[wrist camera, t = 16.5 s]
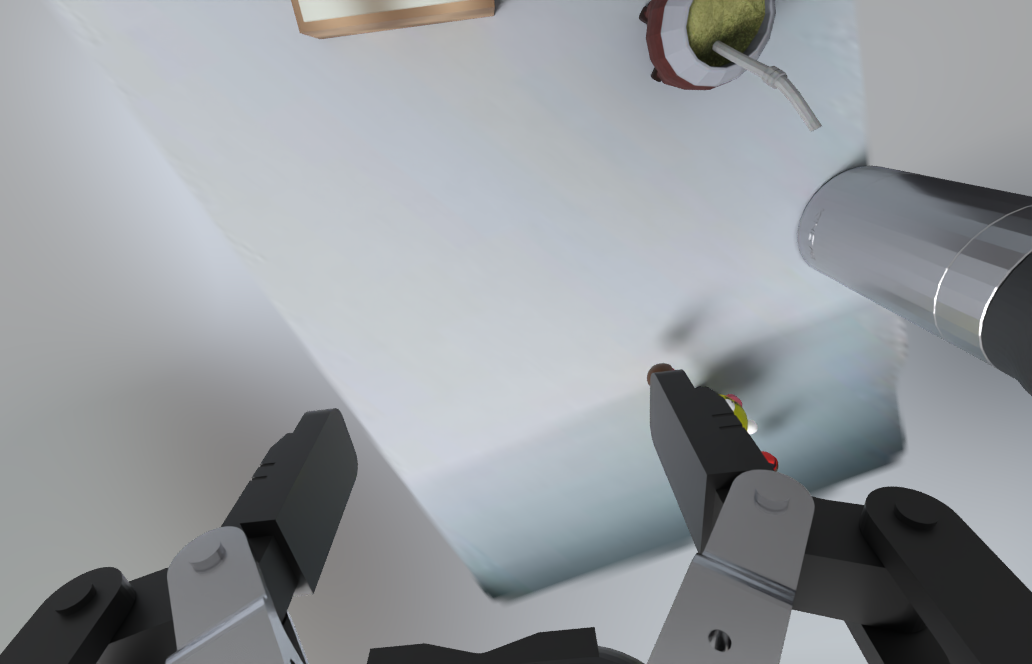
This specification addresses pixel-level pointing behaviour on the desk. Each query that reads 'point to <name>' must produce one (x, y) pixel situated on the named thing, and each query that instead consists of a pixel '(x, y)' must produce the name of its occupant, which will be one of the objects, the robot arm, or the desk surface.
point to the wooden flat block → (381, 14)
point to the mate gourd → (715, 45)
